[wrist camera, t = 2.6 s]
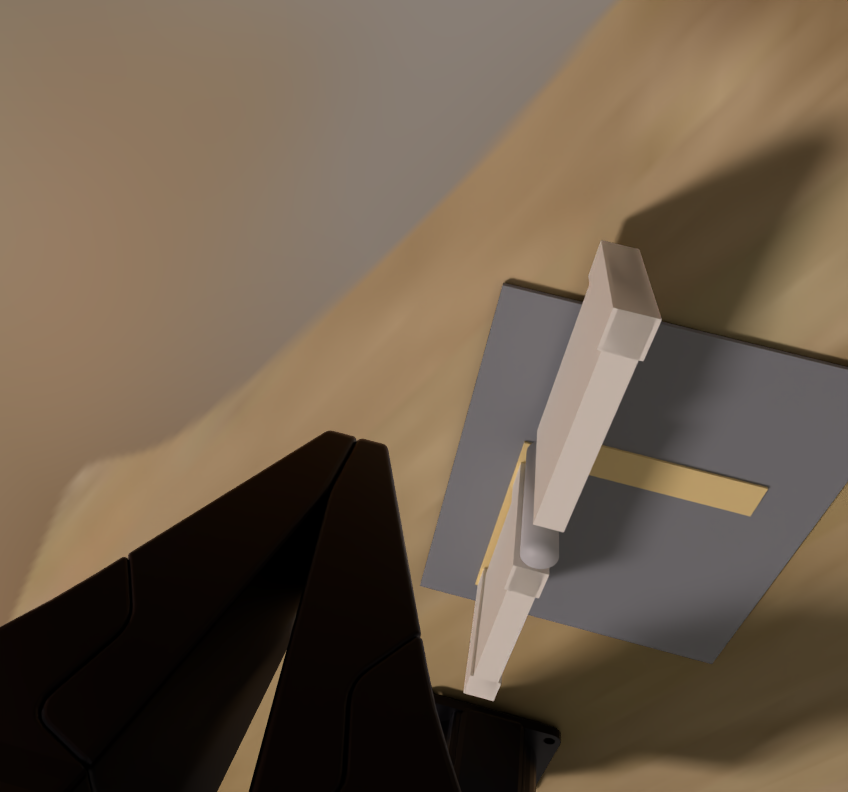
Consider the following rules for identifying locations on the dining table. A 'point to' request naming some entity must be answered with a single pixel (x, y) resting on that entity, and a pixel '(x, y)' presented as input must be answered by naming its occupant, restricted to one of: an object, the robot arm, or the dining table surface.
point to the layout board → (651, 478)
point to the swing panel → (586, 395)
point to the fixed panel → (501, 603)
